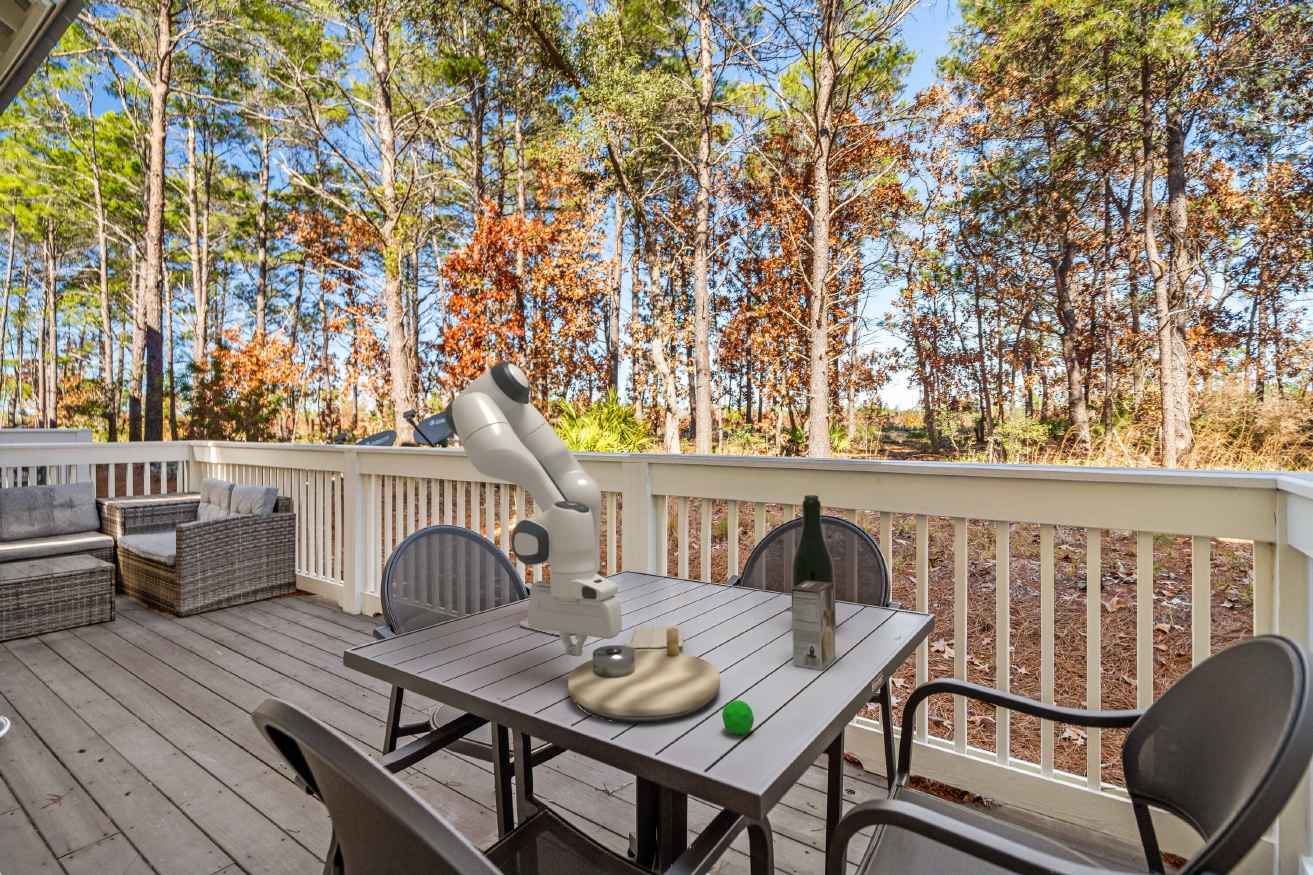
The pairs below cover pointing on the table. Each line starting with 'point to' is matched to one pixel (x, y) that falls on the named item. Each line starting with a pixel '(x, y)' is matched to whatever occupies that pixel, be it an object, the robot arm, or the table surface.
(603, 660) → the iron cover
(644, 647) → the washcloth
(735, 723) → the polyhedron
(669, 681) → the turntable
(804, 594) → the coffee box
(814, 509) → the wine bottle
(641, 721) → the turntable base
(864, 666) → the table surface
